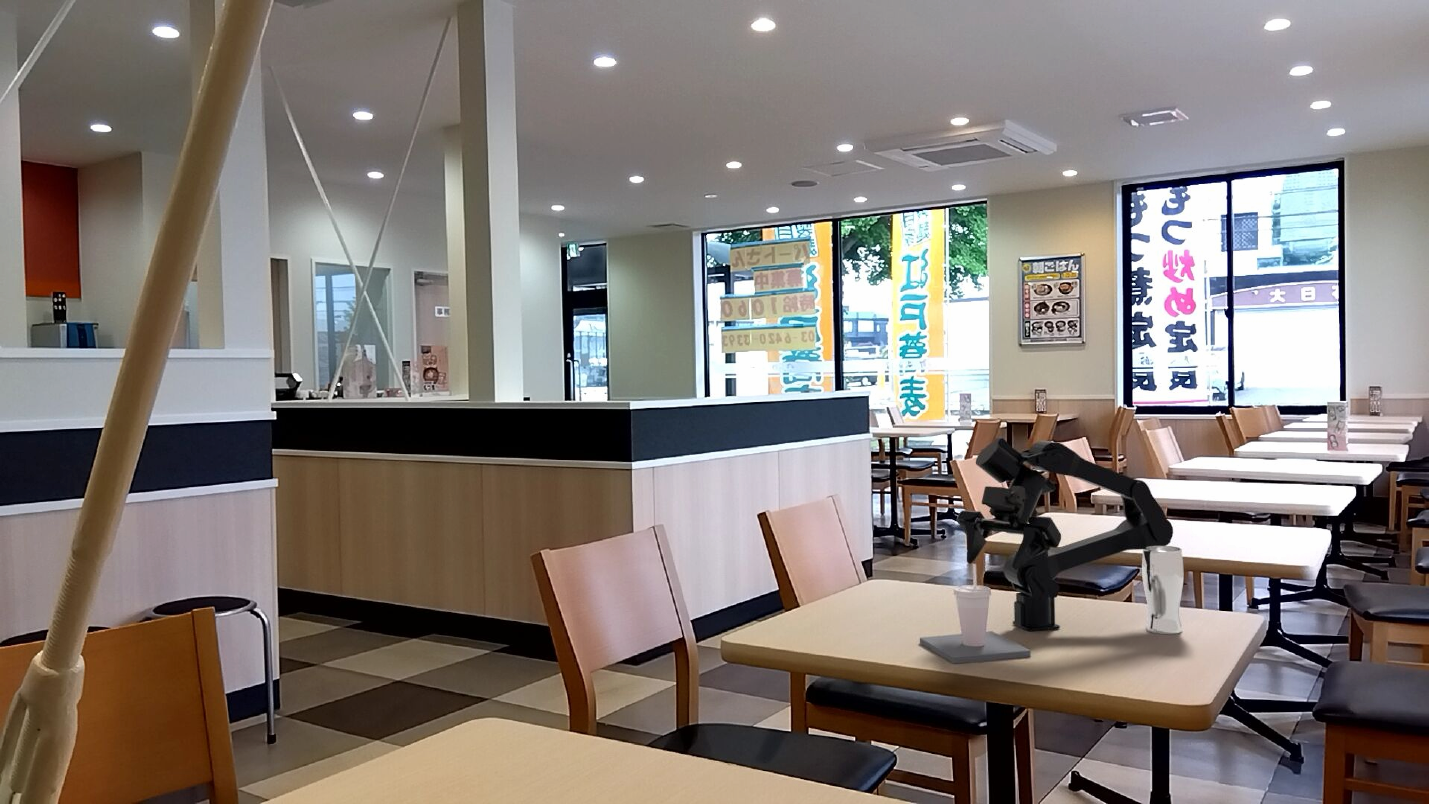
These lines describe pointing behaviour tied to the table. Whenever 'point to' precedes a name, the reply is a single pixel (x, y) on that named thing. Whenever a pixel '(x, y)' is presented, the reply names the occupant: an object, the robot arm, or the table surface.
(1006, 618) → the table surface
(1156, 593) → the beer glass
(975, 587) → the smoothie
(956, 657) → the placemat
